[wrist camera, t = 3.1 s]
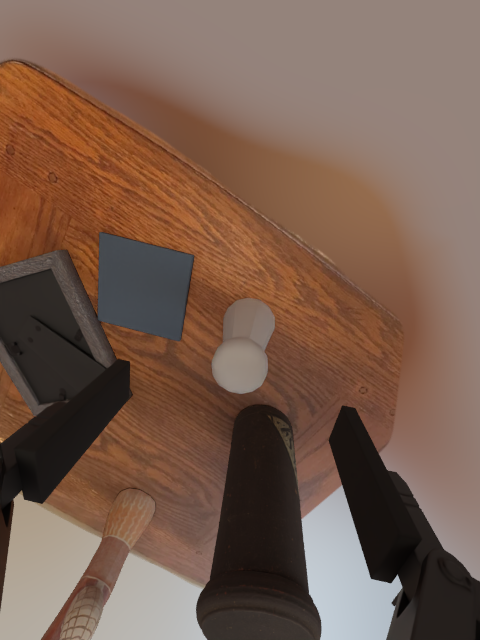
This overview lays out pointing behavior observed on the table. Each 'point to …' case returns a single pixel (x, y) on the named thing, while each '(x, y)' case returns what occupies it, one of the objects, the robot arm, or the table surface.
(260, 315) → the salt shaker
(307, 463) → the table surface
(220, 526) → the container
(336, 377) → the table surface
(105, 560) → the vase
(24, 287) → the picture frame
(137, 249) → the mat
